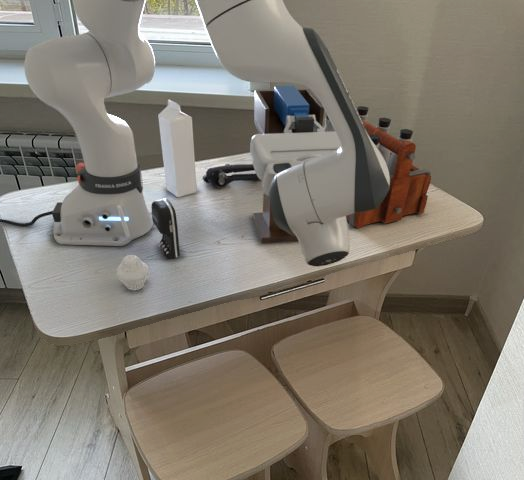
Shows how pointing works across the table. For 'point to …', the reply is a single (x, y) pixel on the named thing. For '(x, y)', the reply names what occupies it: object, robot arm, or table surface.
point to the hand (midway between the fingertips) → (299, 117)
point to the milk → (177, 150)
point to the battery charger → (166, 227)
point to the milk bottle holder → (393, 174)
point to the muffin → (132, 272)
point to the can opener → (220, 179)
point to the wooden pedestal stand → (272, 124)
